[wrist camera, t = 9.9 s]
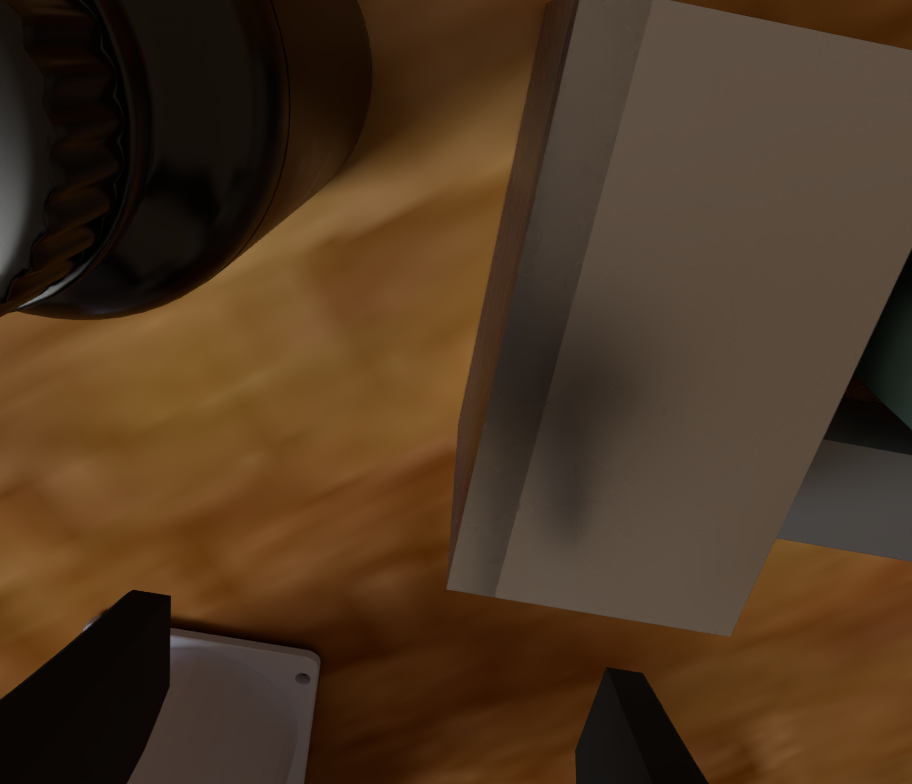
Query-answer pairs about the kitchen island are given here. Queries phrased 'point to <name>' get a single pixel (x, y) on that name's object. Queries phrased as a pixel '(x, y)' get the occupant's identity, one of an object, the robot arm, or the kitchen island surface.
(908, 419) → the peg
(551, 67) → the grey rectangular block
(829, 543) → the socket block
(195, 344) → the kitchen island surface
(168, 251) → the supplement bottle
